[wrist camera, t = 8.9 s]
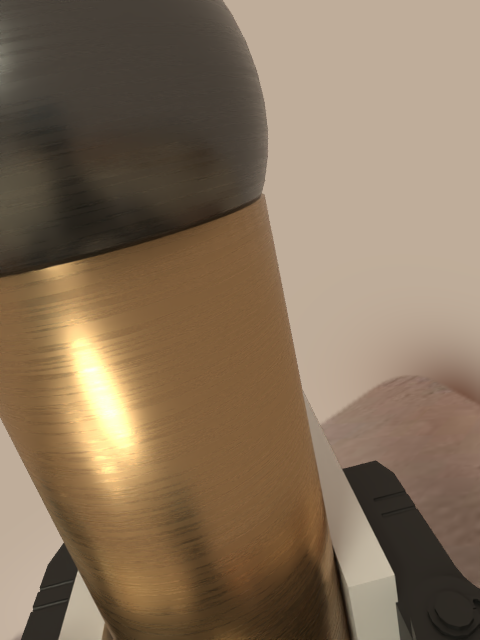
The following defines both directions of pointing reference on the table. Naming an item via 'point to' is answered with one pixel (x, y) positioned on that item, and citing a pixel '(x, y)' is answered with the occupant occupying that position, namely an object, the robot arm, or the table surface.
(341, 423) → the table surface
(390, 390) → the table surface
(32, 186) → the gold upright rod
